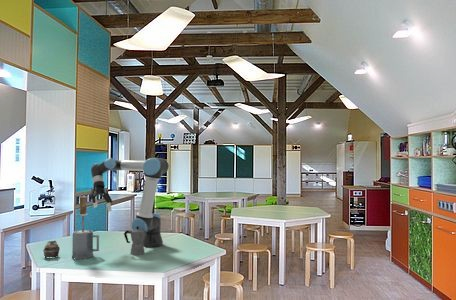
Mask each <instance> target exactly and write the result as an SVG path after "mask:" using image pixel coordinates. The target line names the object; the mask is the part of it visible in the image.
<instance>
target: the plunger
mask: <svg viewBox="0 0 456 300" xmlns="http://www.w3.org/2000/svg"><path fill="white" fill-rule="evenodd" d="M78 198H79V213H77V216H79V217H81V230H82V231H79V230H77V231H78V232H76V233H88V232H90V231H84V230H85V217H86V216H89V213H87V199H88V196H85V195H84V196H79V197H78Z"/></svg>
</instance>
